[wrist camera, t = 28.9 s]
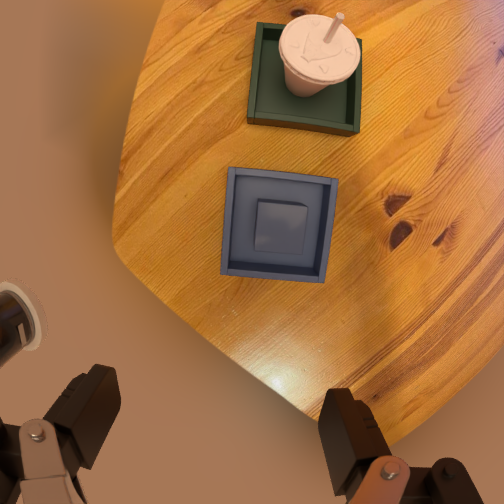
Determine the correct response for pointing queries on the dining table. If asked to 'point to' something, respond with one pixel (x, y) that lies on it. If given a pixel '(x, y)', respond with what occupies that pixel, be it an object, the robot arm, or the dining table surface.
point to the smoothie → (317, 53)
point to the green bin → (294, 107)
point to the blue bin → (244, 215)
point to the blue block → (280, 226)
